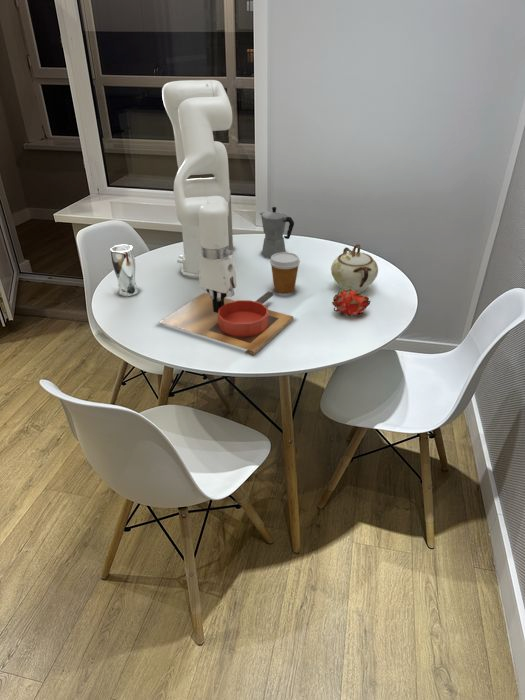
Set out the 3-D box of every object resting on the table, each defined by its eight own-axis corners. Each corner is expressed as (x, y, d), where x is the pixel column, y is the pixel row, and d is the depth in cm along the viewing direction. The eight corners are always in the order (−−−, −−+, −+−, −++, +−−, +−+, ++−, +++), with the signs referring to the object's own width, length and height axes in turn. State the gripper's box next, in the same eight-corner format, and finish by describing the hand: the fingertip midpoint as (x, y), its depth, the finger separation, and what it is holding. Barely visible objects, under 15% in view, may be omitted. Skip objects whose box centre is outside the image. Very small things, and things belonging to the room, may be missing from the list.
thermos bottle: (230, 253, 189) (227, 178, 174) (210, 252, 191) (205, 177, 176) (235, 246, 196) (232, 172, 181) (215, 245, 197) (210, 172, 182)
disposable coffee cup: (296, 300, 156) (297, 264, 149) (267, 297, 157) (266, 262, 151) (300, 287, 164) (302, 252, 157) (272, 285, 165) (272, 250, 159)
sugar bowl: (386, 298, 156) (392, 253, 148) (341, 303, 154) (345, 257, 146) (363, 274, 172) (367, 232, 164) (321, 277, 170) (324, 235, 162)
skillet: (209, 328, 139) (208, 316, 136) (251, 297, 155) (251, 285, 153) (251, 341, 132) (251, 328, 130) (291, 307, 149) (291, 295, 147)
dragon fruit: (327, 318, 149) (364, 320, 151) (336, 314, 140) (376, 317, 143) (327, 290, 149) (364, 293, 152) (337, 284, 141) (376, 287, 143)
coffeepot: (252, 253, 189) (251, 206, 179) (267, 246, 195) (267, 200, 185) (285, 263, 181) (286, 214, 171) (300, 255, 187) (301, 208, 177)
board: (159, 325, 143) (158, 321, 142) (204, 295, 159) (204, 292, 158) (254, 355, 129) (254, 351, 128) (293, 319, 145) (293, 316, 144)
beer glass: (144, 289, 163) (137, 246, 155) (130, 298, 157) (123, 253, 149) (126, 286, 165) (119, 243, 157) (113, 294, 160) (104, 250, 152)
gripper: (245, 251, 134) (247, 311, 144) (201, 241, 140) (205, 300, 150) (230, 261, 129) (233, 322, 138) (184, 250, 135) (190, 310, 145)
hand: (218, 310), depth 144 cm, fingers closed
